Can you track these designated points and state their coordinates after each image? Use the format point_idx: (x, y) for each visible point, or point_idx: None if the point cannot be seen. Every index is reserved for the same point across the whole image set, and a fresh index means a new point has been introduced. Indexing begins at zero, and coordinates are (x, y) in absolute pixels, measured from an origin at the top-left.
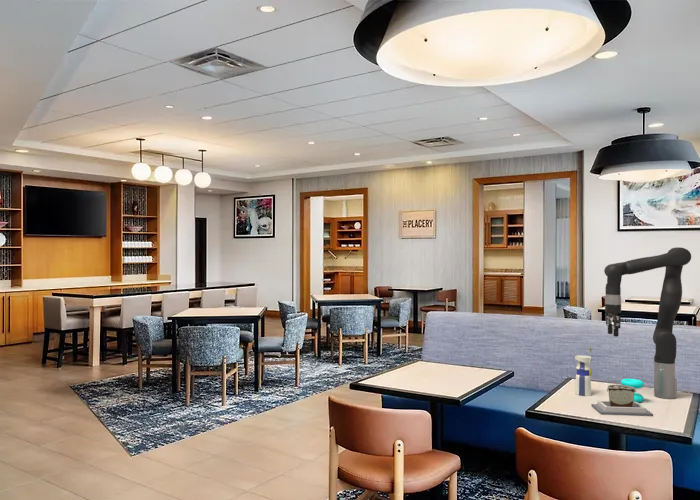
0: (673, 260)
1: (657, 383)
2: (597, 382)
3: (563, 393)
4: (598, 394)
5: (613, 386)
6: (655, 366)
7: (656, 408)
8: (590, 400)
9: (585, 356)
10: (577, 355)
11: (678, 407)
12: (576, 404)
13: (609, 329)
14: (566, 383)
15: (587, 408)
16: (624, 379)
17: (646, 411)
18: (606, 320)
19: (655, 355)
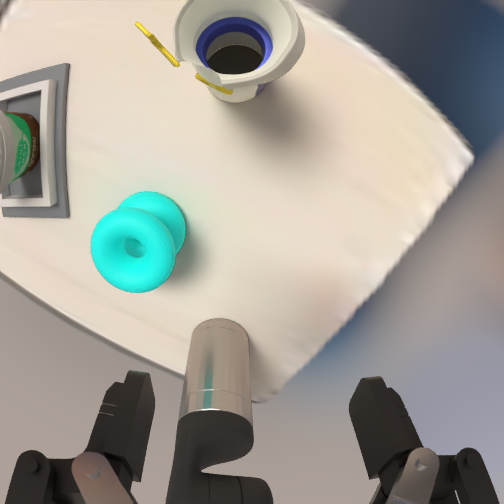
0: None
1: (203, 349)
2: (422, 217)
3: None
4: (237, 133)
5: (1, 135)
6: (209, 394)
7: (73, 257)
8: (139, 73)
9: (278, 58)
10: (287, 3)
11: (101, 317)
12: (89, 21)
13: (376, 430)
14: (416, 94)
15: (48, 50)
16: (136, 229)
17: (16, 208)
18: (480, 500)
19: (197, 432)
